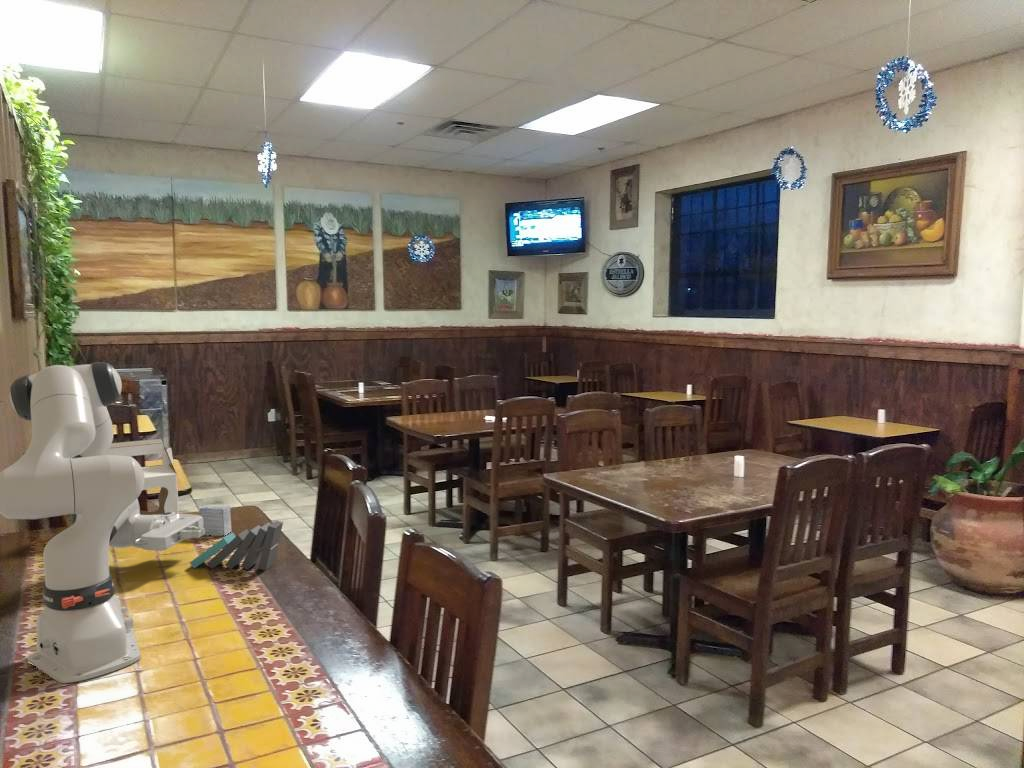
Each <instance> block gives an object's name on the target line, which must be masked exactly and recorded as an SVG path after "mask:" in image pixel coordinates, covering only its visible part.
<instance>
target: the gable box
mask: <svg viewBox="0 0 1024 768" xmlns="http://www.w3.org/2000/svg"><path fill="white" fill-rule="evenodd" d="M158 454H160V455H161V457H162V464H157V465H155V464H154V465H147V466H141V467H142V470H143V472H144V478H145V480H144V487H143V490H142V491H147V490H150V489H151V490H152V489H154V488H155V489H156V488H160V491H159V493H158V497H157V501H158V509H156V510H155V511H146V510H140V514H141V515H159V514H163V513H167V512H175V515H176V514H180V513H179V511H180V510H179V493H178V491H179V490H178V476H177V475H178V473H177V472H176V469H175V468H174V458H173V451H172V447H167V448H166V447H165V446H164V442H163V440H162V439H161V438H153V439H152V438H151V439H144V440H143V439H142V440H131V441H122V442H121V441H120V442H119V441H118V442H112V443H111V445H110V447H109V449H108V450H107V452H106V453H105V455H121V456H131V457H137V456H144V455H145V456H146V455H158Z"/></svg>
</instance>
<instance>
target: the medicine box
mask: <svg viewBox="0 0 1024 768" xmlns="http://www.w3.org/2000/svg"><path fill="white" fill-rule="evenodd" d="M198 510H199V511H198V512H199V513H198V515H200V516H202V517H203V528H204V529H205V534H204V535H202V536H201V537H203V536H205V535H206V537H207V536H209V535H211V536H212V537H226V536H227V534H228V533H229V534H230V532H231V533H232V520H231V518H232V517H231V505H229V504H227V505H225V504H206V505H203V506H202V507H200V508H199V509H198ZM229 534H228V535H229ZM223 535H224V536H223ZM225 535H226V536H225ZM211 536H209V537H211Z"/></svg>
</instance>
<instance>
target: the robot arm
mask: <svg viewBox="0 0 1024 768" xmlns="http://www.w3.org/2000/svg"><path fill="white" fill-rule="evenodd" d="M121 379H122V378H121V376H120V374H119V373H118V371H117V370H116V369H115V368H114V366H113V364H110V363H108V362H104V361H97V362H96V361H94V362H93V361H92V363H89V364H86V363H85V364H76V365H63V364H54V365H50V366H47V367H44V368H41V370H39V371H38V372H37V373H33V374H26V375H23V376H20V377H18V378H16V379H15V380H14V381H13V382H12V384H11V385H10V386H9V387H10V389H9V390H10V391H9V402H10V404H11V406H12V409H13V410H14V412H15V413H17V416H18V417H20V418H21V419H24V420H26V421H31V439H30V440H31V441H30V444H29V446H28V448H27V449H26V451H25V452H24V454H22V456H21V457H19V459H18V460H16V461H15V462H14V463H13V464H11V465H9V466H8V467H6V468H4V469H3V470H1V472H0V515H1V516H2V517H4V518H6V519H9V520H11V519H12V520H39V519H46V518H52V517H60V516H66V515H71V520H70V521H71V522H70V526H69V527H68V528H66V529H64V530H62V531H61V532H58V534H56V535H55V536H53V537H52V538H50V540H49V541H48V542H47V543H46V545H45V547H44V548H43V552H42V553H43V554H42V555H43V566H44V567H43V570H44V581H45V582H44V583H45V584H44V585H43V587H42V588H43V589H42V590H43V591H42V598H43V604H44V605H45V606H44V608H43V610H42V612H41V613H40V614H39V615H38V616H37V617H36V619H35V621H36V622H35V623H36V624H35V625H36V630H35V631H36V632H35V633H36V651H35V652H33V653H31V654H30V655H29V656H28V657H27V663H28V662H30V663H32V664H33V665H34V666H36V667H38V668H39V669H40V670H42V671H43V672H44V673H43V672H42V671H41V672H42V673H43V674H45V673H46V674H45V675H47V674H48V675H49V676H48V675H47V676H48V677H50V678H51V679H54V680H55V681H57V682H58V683H61V684H68V683H75V682H81V681H85V680H90V679H93V678H96V677H100V676H102V675H106V674H109V673H113V672H115V671H118V670H120V669H123V668H126V667H127V666H129V665H132V664H133V663H136V662H138V661H139V660H140V659H141V658H142V654H141V650H140V648H139V647H140V646H139V644H138V640H137V638H136V635H135V631H134V629H133V628H134V620H133V617H132V616H129V617H125V618H124V617H123V615H124V614H126V613H127V609H126V606H125V605H124V606H120V596H118V595H116V594H115V584H114V580H113V576H112V574H111V572H110V559H109V556H110V555H109V553H110V548H115V549H117V548H119V549H122V548H123V549H124V548H130V547H133V548H136V549H141V550H147V551H157V552H159V551H160V552H161V551H165V550H169V548H171V547H173V546H175V545H177V544H178V543H180V542H182V541H183V540H188V539H193V538H195V539H196V538H200V537H203V536H202V535H204V534H205V529H204V528H203V517H202V516H200V515H199V514H189V513H179V514H176V515H175V512H167V513H163V514H159V515H141V514H140V511H141V506H140V502H139V497H140V495H141V494H142V492H143V491H144V490H143V487H144V480H145V478H144V472H143V470H142V467H143V466H141V464H140V463H139V462H138V461H137V460H136V458H134V457H133V456H121V455H105V453H106V452H107V450H108V449H109V447H110V445H111V443H113V440H114V426H113V425H114V424H113V422H112V419H111V416H110V412H109V411H108V406H110V405H112V404H114V403H116V402H118V400H119V399H120V398H121V396H122V395H121V393H122V389H123V384H122V383H123V382H122V380H121ZM40 670H39V671H40Z"/></svg>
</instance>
